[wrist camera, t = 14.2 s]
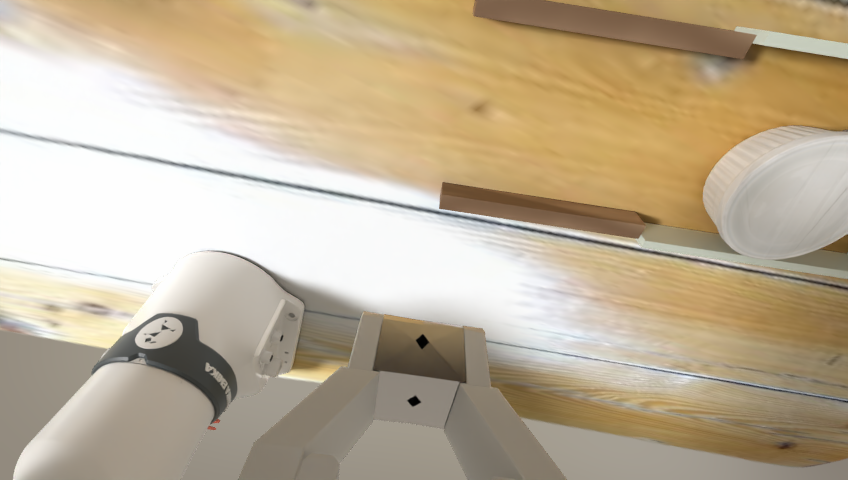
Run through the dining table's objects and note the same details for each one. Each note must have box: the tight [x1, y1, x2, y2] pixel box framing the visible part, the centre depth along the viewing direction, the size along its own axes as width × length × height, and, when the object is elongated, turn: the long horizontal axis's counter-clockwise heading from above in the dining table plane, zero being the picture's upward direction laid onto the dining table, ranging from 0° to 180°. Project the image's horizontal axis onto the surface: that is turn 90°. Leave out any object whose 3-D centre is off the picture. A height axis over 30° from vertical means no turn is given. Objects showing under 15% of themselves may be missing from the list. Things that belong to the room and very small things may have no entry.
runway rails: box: [439, 0, 757, 239], centre depth 30 cm, size 17×19×2 cm
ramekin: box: [703, 126, 848, 260], centre depth 31 cm, size 11×11×5 cm
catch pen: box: [635, 26, 848, 279], centre depth 30 cm, size 18×23×4 cm
